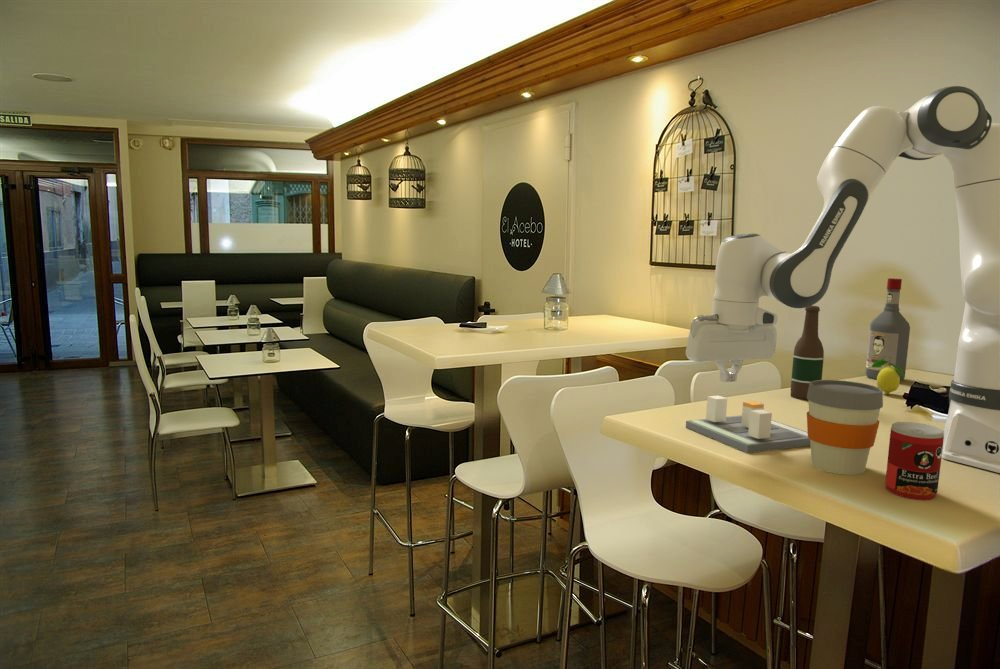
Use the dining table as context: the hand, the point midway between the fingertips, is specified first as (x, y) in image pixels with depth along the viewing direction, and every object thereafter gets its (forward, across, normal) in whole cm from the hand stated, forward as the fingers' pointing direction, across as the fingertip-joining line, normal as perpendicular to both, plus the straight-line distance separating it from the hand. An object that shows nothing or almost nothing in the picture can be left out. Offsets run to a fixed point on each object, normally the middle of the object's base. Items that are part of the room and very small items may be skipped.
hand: (728, 381), depth 149 cm
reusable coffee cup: (+12, +8, -22) cm, 26 cm away
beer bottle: (+12, +47, +24) cm, 54 cm away
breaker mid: (+10, +7, -1) cm, 12 cm away
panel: (+12, +7, -1) cm, 14 cm away
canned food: (+11, +9, -36) cm, 39 cm away
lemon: (+12, +72, +20) cm, 75 cm away
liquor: (+12, +90, +36) cm, 98 cm away
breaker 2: (+10, +3, -7) cm, 12 cm away
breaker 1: (+10, +3, +6) cm, 12 cm away
